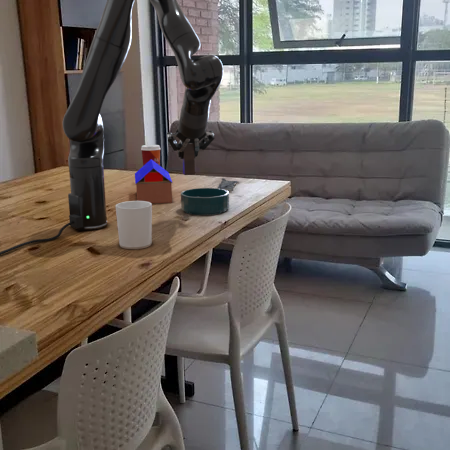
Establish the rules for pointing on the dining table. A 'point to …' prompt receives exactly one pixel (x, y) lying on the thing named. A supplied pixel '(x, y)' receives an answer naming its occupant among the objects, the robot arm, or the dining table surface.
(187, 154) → the brown rectangular block
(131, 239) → the mug
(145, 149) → the paper cup
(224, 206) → the bowl
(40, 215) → the dining table surface
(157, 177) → the house
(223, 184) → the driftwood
